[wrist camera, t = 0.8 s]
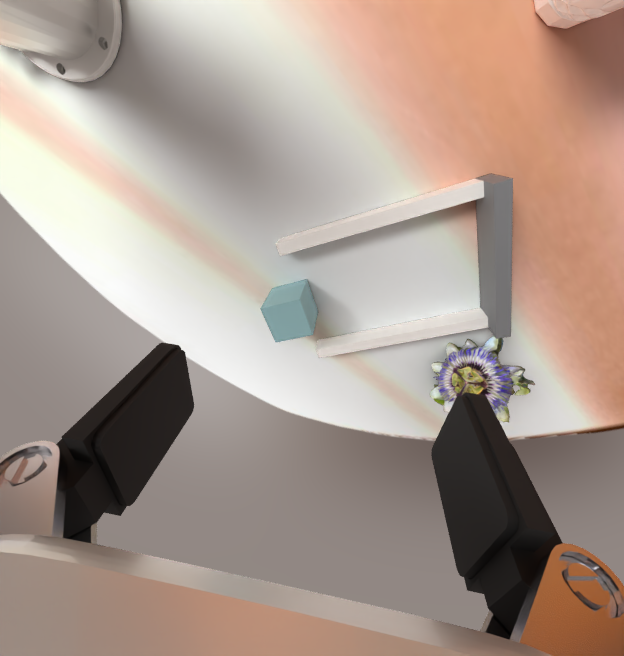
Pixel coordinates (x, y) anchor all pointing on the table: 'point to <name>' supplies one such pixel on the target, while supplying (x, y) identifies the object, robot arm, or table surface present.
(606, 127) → the table surface
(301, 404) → the table surface
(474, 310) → the guide channel
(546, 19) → the white cup
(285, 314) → the block
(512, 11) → the table surface
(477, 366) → the passion flower
